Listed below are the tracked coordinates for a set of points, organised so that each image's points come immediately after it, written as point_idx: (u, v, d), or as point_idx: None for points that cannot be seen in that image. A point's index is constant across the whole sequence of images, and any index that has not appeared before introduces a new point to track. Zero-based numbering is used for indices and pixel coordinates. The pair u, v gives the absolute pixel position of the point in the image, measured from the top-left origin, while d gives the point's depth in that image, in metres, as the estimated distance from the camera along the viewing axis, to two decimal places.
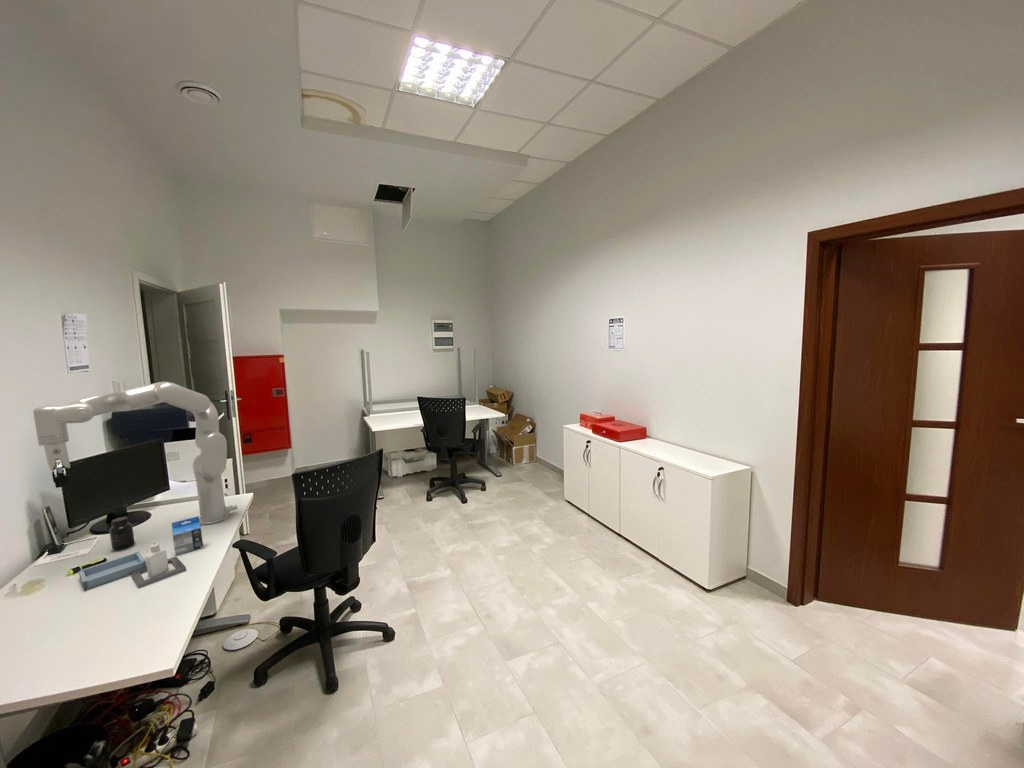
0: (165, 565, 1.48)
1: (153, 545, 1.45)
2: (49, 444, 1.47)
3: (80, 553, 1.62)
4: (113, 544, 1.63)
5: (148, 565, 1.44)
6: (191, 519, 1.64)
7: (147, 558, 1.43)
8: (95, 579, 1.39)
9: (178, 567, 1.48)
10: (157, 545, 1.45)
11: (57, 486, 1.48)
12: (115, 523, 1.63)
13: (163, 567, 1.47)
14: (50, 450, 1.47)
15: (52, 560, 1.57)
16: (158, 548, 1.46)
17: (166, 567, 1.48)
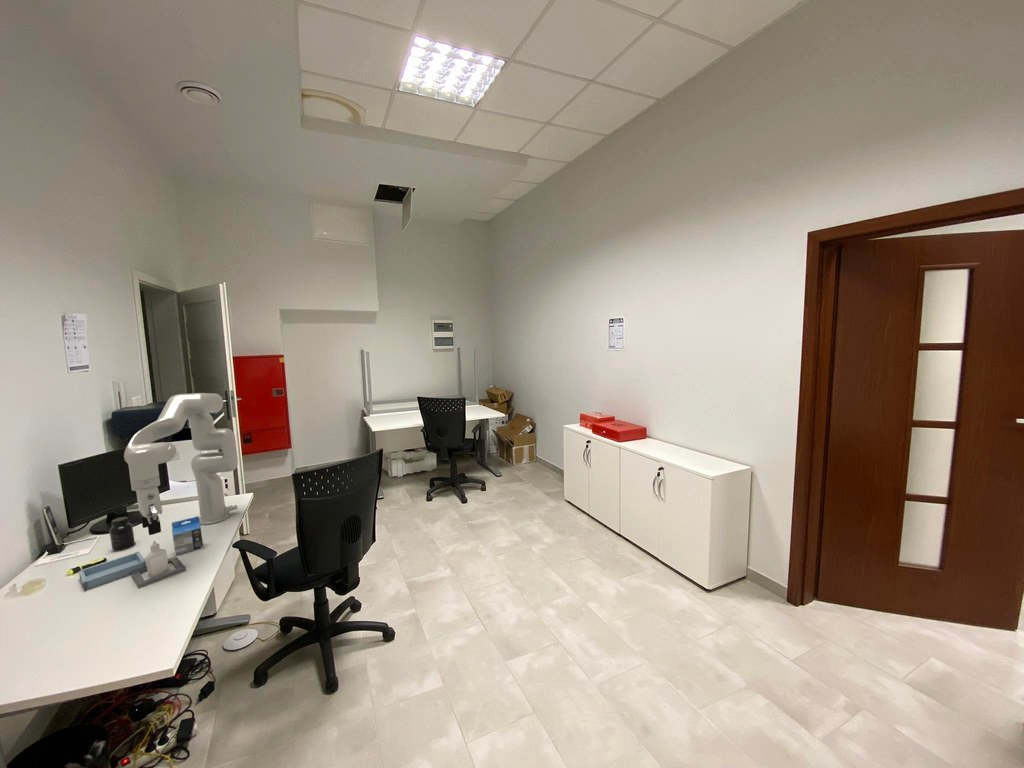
0: (165, 565, 1.48)
1: (153, 545, 1.45)
2: (143, 489, 1.40)
3: (80, 553, 1.62)
4: (113, 544, 1.63)
5: (148, 565, 1.44)
6: (191, 519, 1.64)
7: (147, 558, 1.43)
8: (95, 579, 1.39)
9: (178, 567, 1.48)
10: (157, 545, 1.45)
11: (150, 533, 1.40)
12: (115, 523, 1.63)
13: (163, 567, 1.47)
14: (144, 495, 1.39)
15: (52, 560, 1.57)
16: (158, 548, 1.46)
17: (166, 567, 1.48)
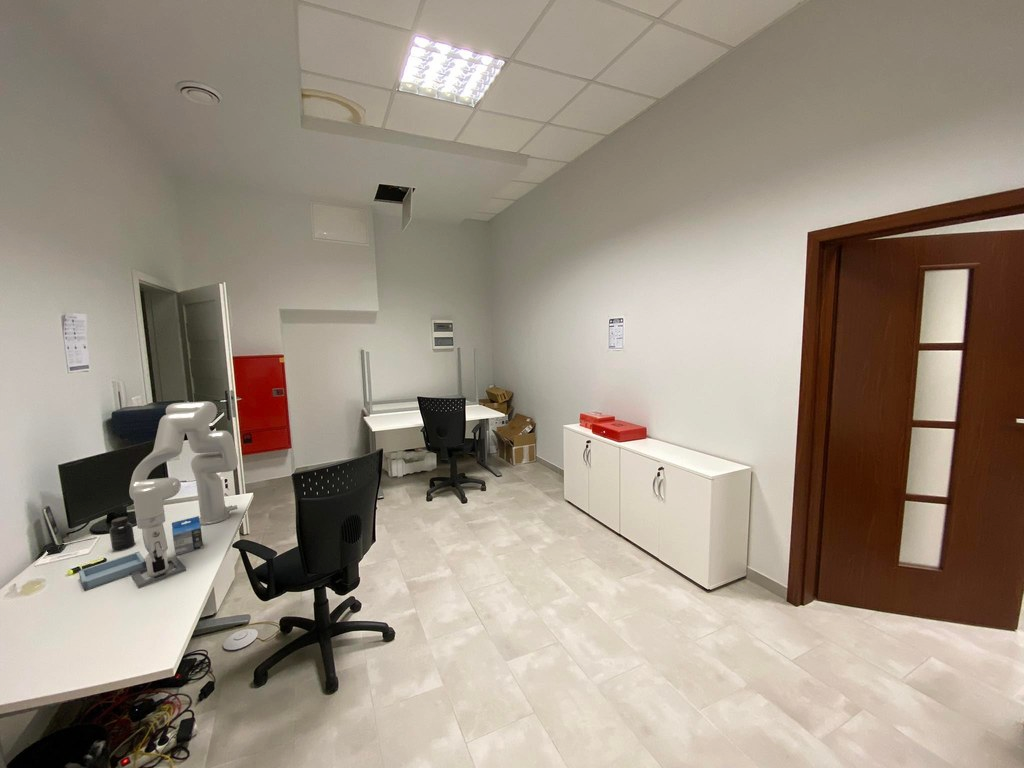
0: (165, 565, 1.48)
1: None
2: (149, 527, 1.41)
3: (80, 553, 1.62)
4: (113, 544, 1.63)
5: (148, 565, 1.44)
6: (191, 519, 1.64)
7: (147, 558, 1.43)
8: (95, 579, 1.39)
9: (178, 567, 1.48)
10: None
11: (155, 571, 1.44)
12: (115, 523, 1.63)
13: None
14: (150, 533, 1.41)
15: (52, 560, 1.57)
16: None
17: (166, 567, 1.48)
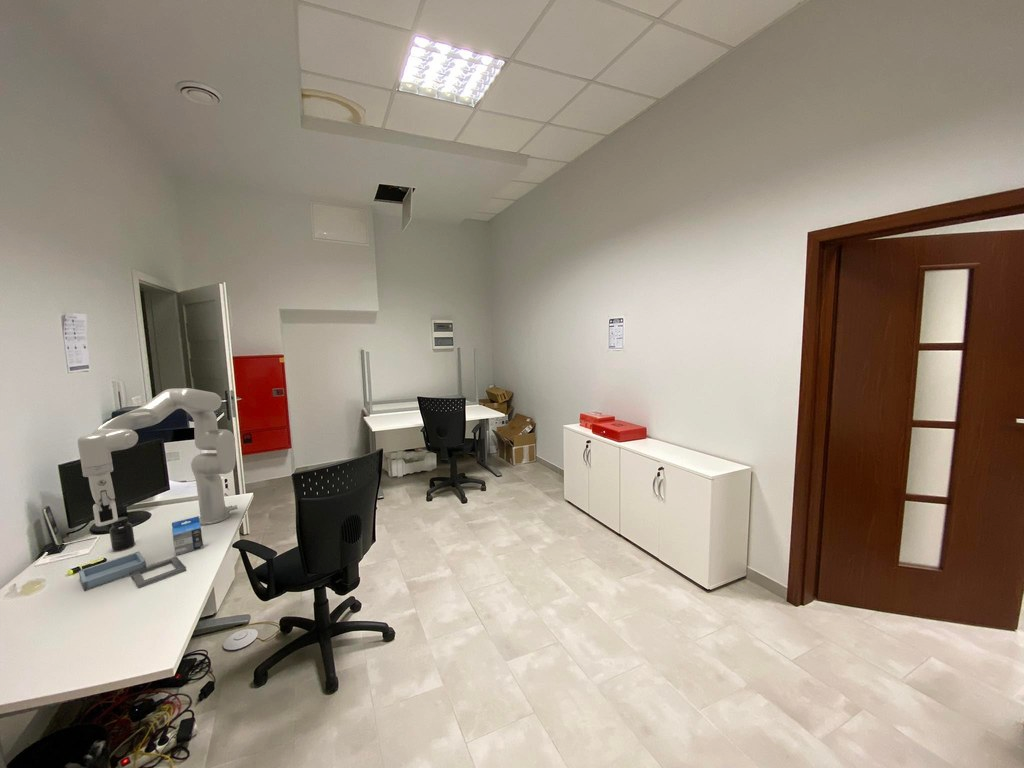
0: (114, 516, 1.46)
1: None
2: (94, 475, 1.39)
3: (80, 553, 1.62)
4: (113, 544, 1.63)
5: (95, 514, 1.42)
6: (191, 519, 1.64)
7: (93, 507, 1.42)
8: (95, 579, 1.39)
9: (178, 567, 1.48)
10: None
11: (102, 520, 1.42)
12: (115, 523, 1.63)
13: None
14: (95, 481, 1.39)
15: (52, 560, 1.57)
16: None
17: (115, 518, 1.46)
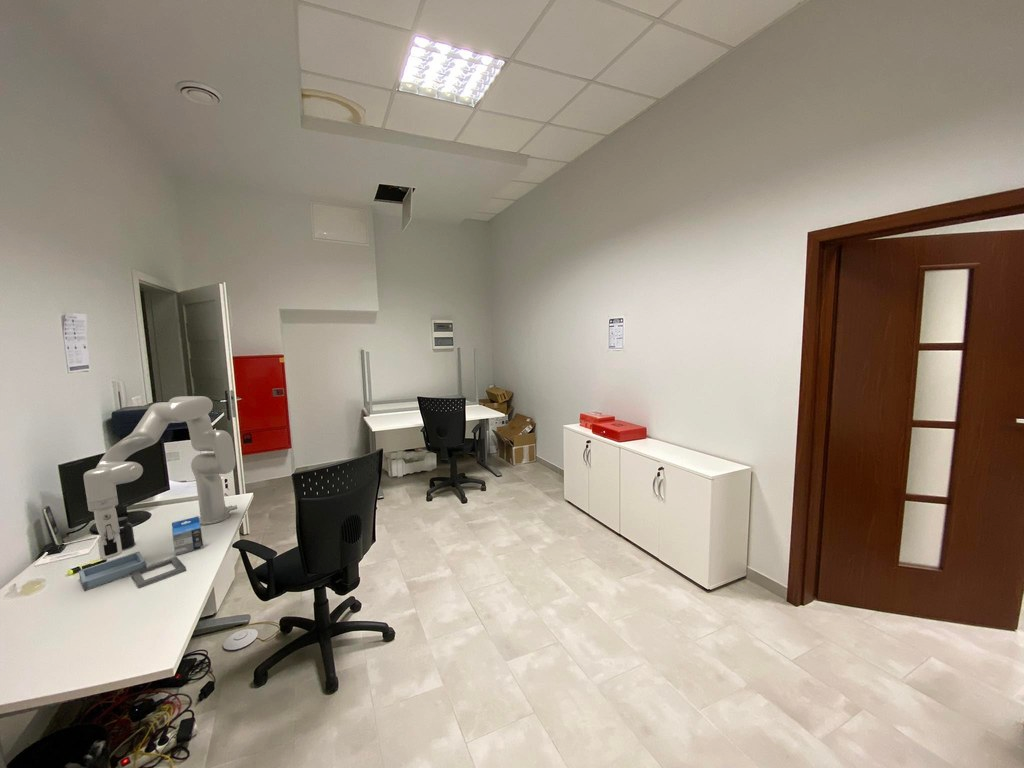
0: (118, 549, 1.47)
1: None
2: (99, 510, 1.41)
3: (80, 553, 1.62)
4: None
5: (99, 548, 1.43)
6: (191, 519, 1.64)
7: (98, 541, 1.43)
8: (95, 579, 1.39)
9: (178, 567, 1.48)
10: None
11: (106, 554, 1.44)
12: None
13: None
14: (101, 516, 1.41)
15: (52, 560, 1.57)
16: None
17: (119, 551, 1.47)
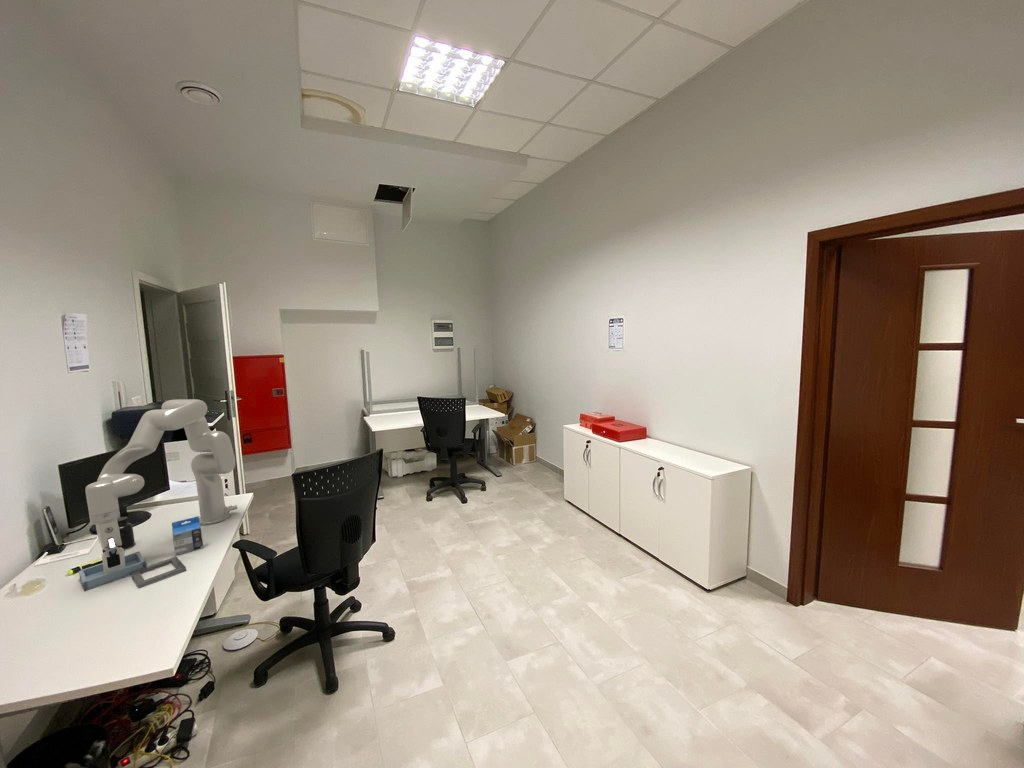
0: (121, 565, 1.48)
1: None
2: (101, 523, 1.41)
3: (80, 553, 1.62)
4: None
5: (103, 563, 1.45)
6: (191, 519, 1.64)
7: (102, 556, 1.44)
8: (95, 579, 1.39)
9: (178, 567, 1.48)
10: None
11: (109, 566, 1.43)
12: None
13: (118, 566, 1.47)
14: (103, 529, 1.41)
15: (52, 560, 1.57)
16: None
17: (122, 566, 1.48)
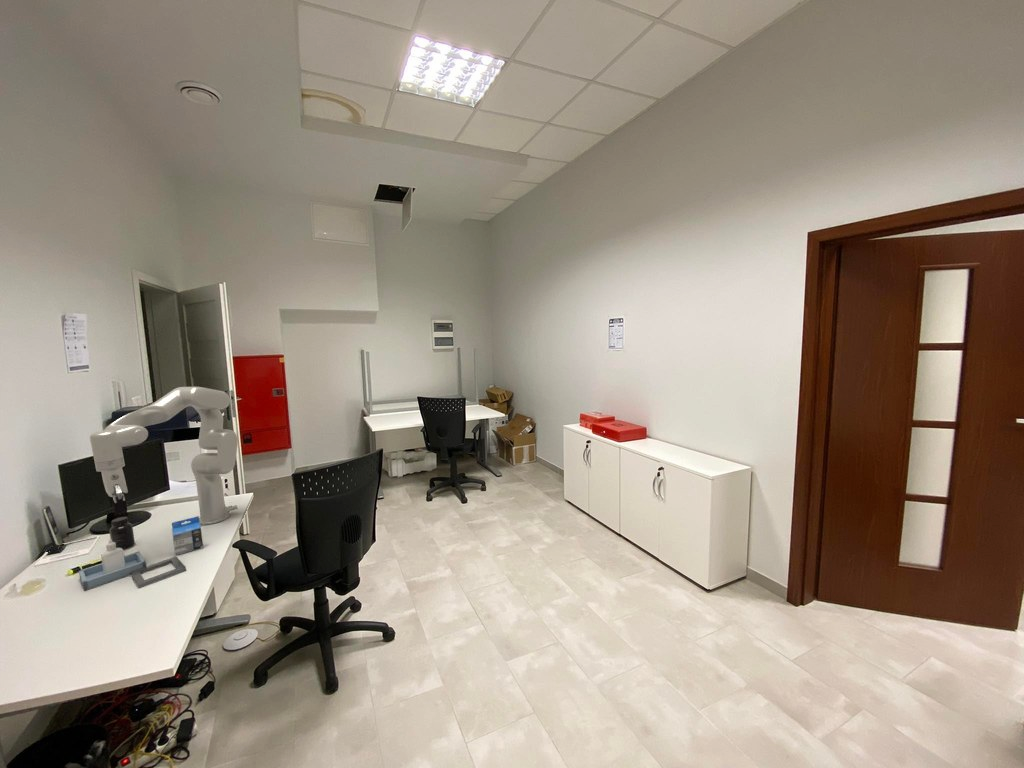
0: (121, 565, 1.48)
1: (108, 544, 1.45)
2: (107, 470, 1.45)
3: (80, 553, 1.62)
4: None
5: (103, 563, 1.44)
6: (191, 519, 1.64)
7: (102, 556, 1.44)
8: (95, 579, 1.39)
9: (178, 567, 1.48)
10: (112, 544, 1.46)
11: (117, 512, 1.46)
12: (115, 523, 1.63)
13: (118, 566, 1.47)
14: (109, 476, 1.45)
15: (52, 560, 1.57)
16: (113, 547, 1.46)
17: (122, 566, 1.48)
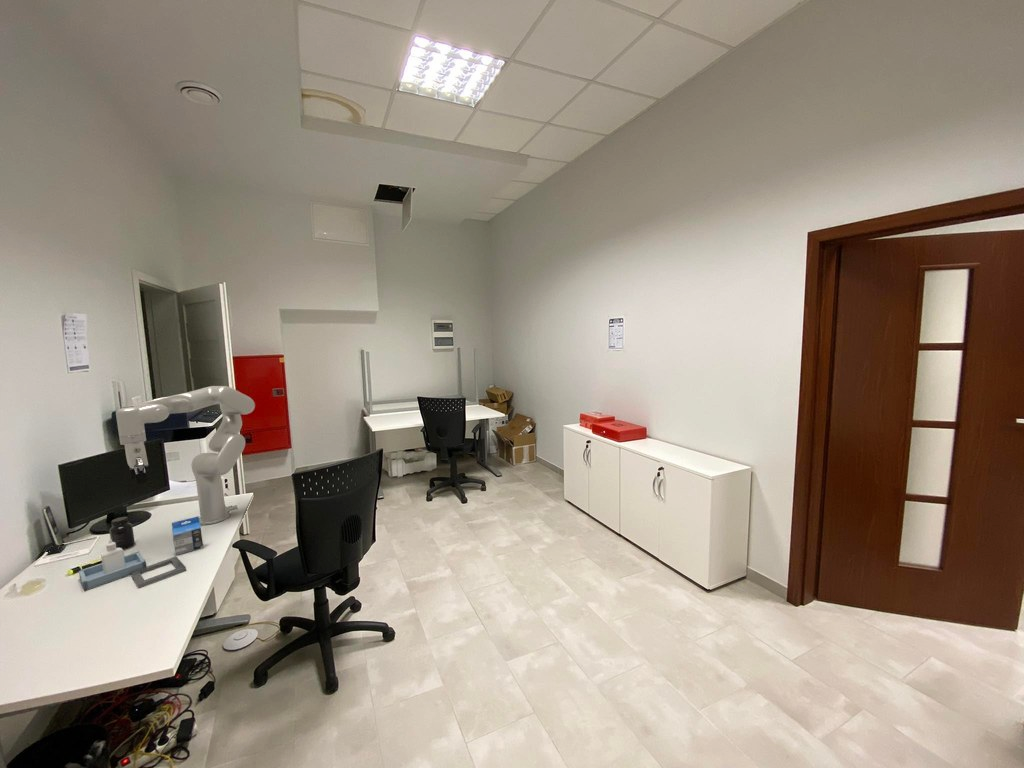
0: (121, 565, 1.48)
1: (108, 544, 1.45)
2: (130, 443, 1.57)
3: (80, 553, 1.62)
4: None
5: (103, 563, 1.44)
6: (191, 519, 1.64)
7: (102, 556, 1.44)
8: (95, 579, 1.39)
9: (178, 567, 1.48)
10: (112, 544, 1.46)
11: (137, 483, 1.58)
12: (115, 523, 1.63)
13: (118, 566, 1.47)
14: (131, 449, 1.56)
15: (52, 560, 1.57)
16: (113, 547, 1.46)
17: (122, 566, 1.48)
